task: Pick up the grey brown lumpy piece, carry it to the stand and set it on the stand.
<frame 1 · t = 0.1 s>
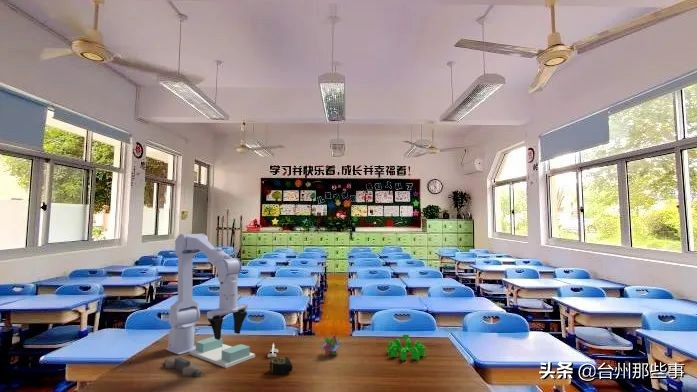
hand: (227, 336, 119), 10 cm above the table, fingers open, 7 cm apart
tape measure: (282, 372, 115), on the table
stand: (222, 355, 129), on the table
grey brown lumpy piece: (182, 369, 117), on the table
geometric puzzle: (330, 355, 129), on the table
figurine: (270, 361, 125), on the table
green lumpy cluster: (406, 355, 129), on the table
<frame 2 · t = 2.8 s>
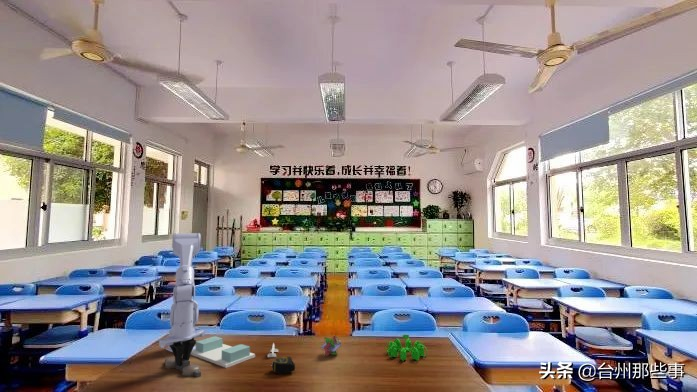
hand: (182, 364, 117), 2 cm above the table, fingers closed on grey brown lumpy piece, 2 cm apart
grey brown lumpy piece: (182, 369, 117), on the table, touching gripper
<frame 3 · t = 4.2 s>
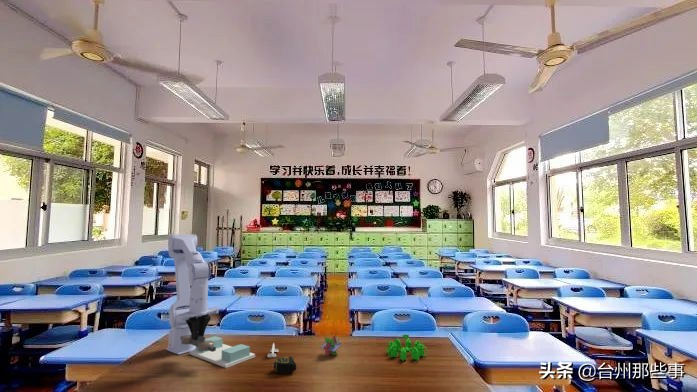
hand: (197, 338, 122), 8 cm above the table, fingers closed on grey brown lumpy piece, 2 cm apart
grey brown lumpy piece: (197, 345, 122), point 6 cm above the table, touching gripper
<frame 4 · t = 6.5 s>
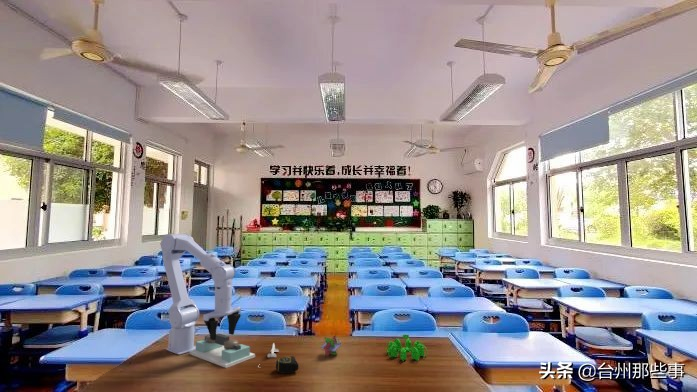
hand: (222, 336, 129), 7 cm above the table, fingers open, 7 cm apart
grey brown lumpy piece: (221, 344, 129), point 4 cm above the table, touching stand
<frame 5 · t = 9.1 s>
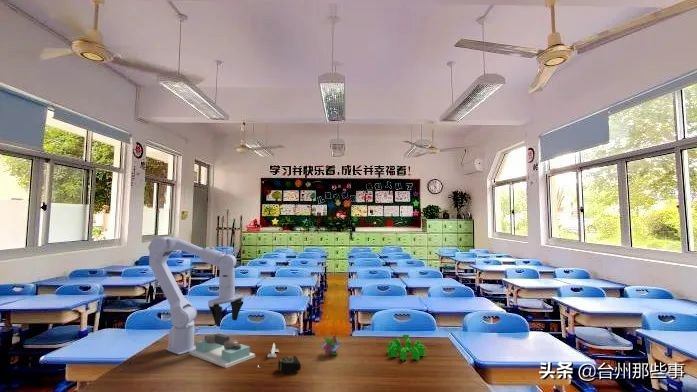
hand: (226, 322, 137), 10 cm above the table, fingers open, 7 cm apart
at the end: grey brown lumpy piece 0.2 cm off-centre on the stand, point 4.0 cm above the stand's base; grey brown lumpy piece tilted 0°; the gripper is holding nothing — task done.
